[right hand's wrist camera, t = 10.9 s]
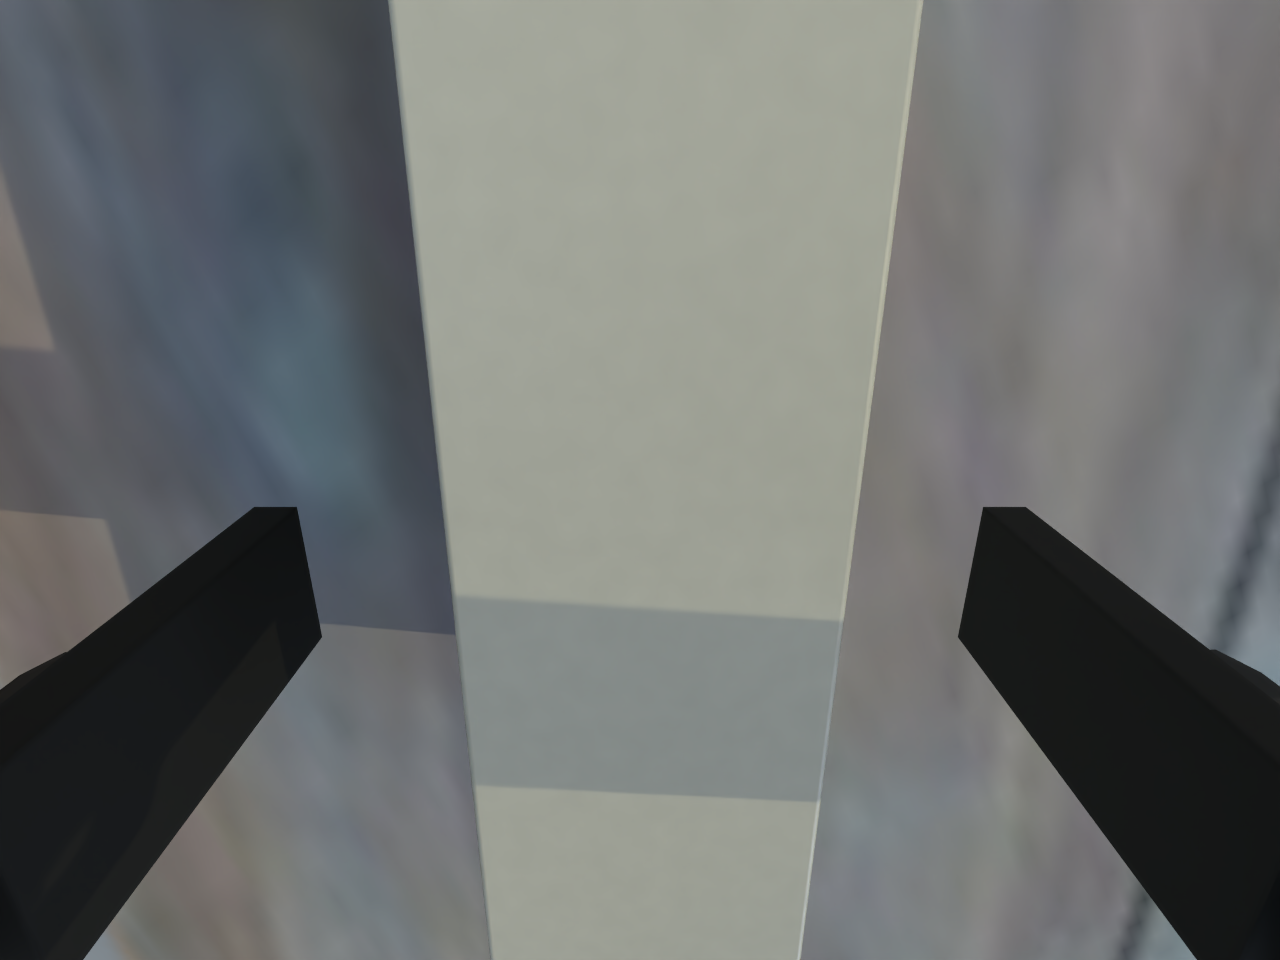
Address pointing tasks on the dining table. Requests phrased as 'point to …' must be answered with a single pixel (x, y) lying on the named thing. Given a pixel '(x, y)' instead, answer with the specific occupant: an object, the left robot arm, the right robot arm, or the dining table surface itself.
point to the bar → (650, 437)
